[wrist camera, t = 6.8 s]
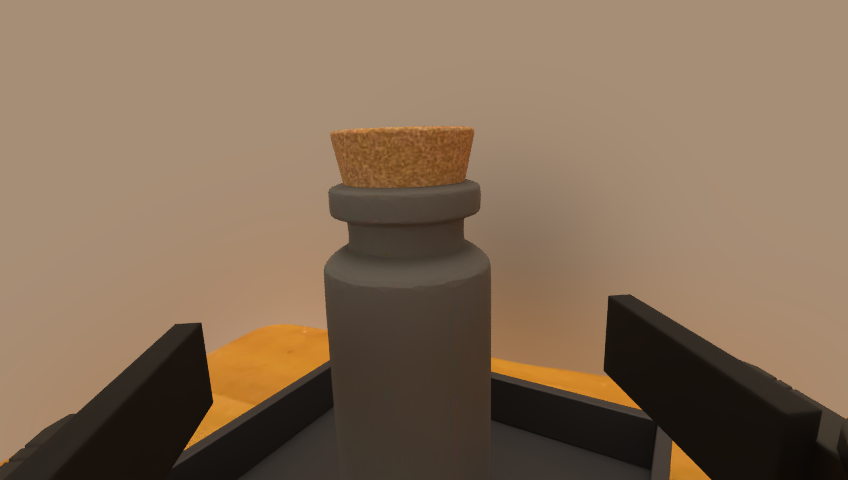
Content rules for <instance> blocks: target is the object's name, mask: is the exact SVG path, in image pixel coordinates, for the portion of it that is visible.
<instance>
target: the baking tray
mask: <svg viewBox="0 0 848 480" xmlns="http://www.w3.org/2000/svg"><path fill="white" fill-rule="evenodd" d="M671 451H672V439H671V438H670V437H669V436H668V435H667V434H666V433H665V432H664V431H663V430H662V429H661V428H660V427H659V426H658V425H657V424H656V423H655V422H654V421H653V420H652V419H651V418H650V417H649V416H648V415H647V414H646V413H645V412H644V411H643V410H639V409H636V408H632V407H628V406H624V405H620V404H616V403H612V402H608V401H604V400H600V399H596V398H592V397H588V396H585V395H581V394H577V393H573V392H569V391H565V390H561V389H557V388H553V387H549V386H545V385H541V384H537V383H534V382H530V381H526V380H522V379H518V378H514V377H510V376H506V375H502V374H498V373H494V372H491V443H490V480H669V477H670V464H671ZM165 480H340V474H339V461H338V449H337V437H336V425H335V413H334V400H333V388H332V376H331V364H330V360H329V361H328V362H326V363H324V364H323V365H321V366H319V367H318V368H316V369H315V370H313V371H311V372H310V373H308V374H307V375H305V376H303V377H302V378H300V379H299V380H297V381H295V382H294V383H292V384H291V385H289V386H287V387H286V388H284V389H282V390H281V391H279V392H278V393H276V394H274V395H273V396H271V397H270V398H268V399H266V400H265V401H263V402H262V403H260V404H258V405H257V406H255V407H254V408H252V409H250V410H249V411H247V412H245V413H244V414H242V415H241V416H239V417H237V418H236V419H234V420H233V421H231V422H229V423H228V424H226V425H225V426H223V427H221V428H220V429H218V430H217V431H215V432H213V433H212V434H210V435H208V436H207V437H205V438H204V439H202V440H200V441H199V442H197V443H196V444H194V445H192V446H191V447H189V448H188V449H186V450H184V451H183V452H182V453H181V455H180V456H179V458H178V460H177V461H176V463H175V464H174V466H173V468H172V469H171V471H170V472H169V474H168V476H167V477H166V479H165Z"/></svg>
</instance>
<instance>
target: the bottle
mask: <svg viewBox="0 0 848 480" xmlns="http://www.w3.org/2000/svg"><path fill="white" fill-rule="evenodd" d="M330 136H331V141H332V144H333V148H334V151H335V155H336V158H337V162H338V166H339V169H340V173H341V177H342V180H343V183H341V184H339V185H336V186H334V187H332V188H331V189H329V192H328V193H329V208H330V214H331V216H332V217H334V218H335V219H338V220H341V221H345V222H347V223H348V231H349V243H348V244H347V245H345V246H343V247H342V248H341V249H339V250H338V251H337V252H335V253H334V254H333V255H332V256H331V257H330V258H329V260H328V261H327V263H326V265H325V268H324V280H325V281H324V282H325V298H326V315H327V327H328V339H329V352H330V364H331V376H332V388H333V400H334V413H335V425H336V437H337V449H338V461H339V474H340V480H490V443H491V267H490V261H489V258H488V257H487V255H486V254H485V253H484V252H483V251H482V250H481V249H480V248H478V247H477V246H476V245H474V244H473V243H471V242H469V241H467V240H465V239H464V231H463V229H464V218H466V217H469V216H471V215H474V214H475V213H477V212H478V211H479V209H480V197H481V194H480V186H479V184H478V183H476V182H474V181H471V180H467V179H465V177H466V172H467V167H468V162H469V156H470V152H471V146H472V141H473V136H474V129H473V128H471V127H464V126H459V127H458V126H421V127H385V128H363V129H347V130H338V131H333V132H331V133H330Z"/></svg>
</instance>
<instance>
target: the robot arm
mask: <svg viewBox="0 0 848 480" xmlns="http://www.w3.org/2000/svg"><path fill="white" fill-rule="evenodd" d="M604 371H605V372H606V373H607V375H608V376H609V377H610V378H611V379H612V380H613V381H614V382H615V383H616V384H617V385H618V386H619V387H620V388H621V389H622V390H623V391H624V392H625V393H626V394H627V395H628V396H629V397H630V398H631V399H632V400H633V401H634V402H635V403H636V404H637V405H638V406H639V407H640V408H641V409H642V410H643V411H644V412H645V413H646V414H647V415H648V416H649V417H650V418H651V419H652V420H653V421H654V422H655V423H656V424H657V425H658V426H659V427H660V428H661V429H662V430H663V431H664V432H665V433H666V434H667V435H668V436H669V437H670V438H671V439H672V440H673V441H674V442H675V443H676V444H677V445H678V446H679V447H680V448H681V449H682V450H683V451H684V452H685V453H686V454H687V455H688V456H689V457H690V458H691V459H692V460H693V461H694V462H695V463H696V464H697V465H698V466H699V467H700V469H701V470H702V471H703V472H704V473H705V474H706V475H707V476H708V477H709V478H710V479H711V480H848V418H847V419H845V418H843V417H842V416H840V415H838V414H836V413H835V412H833V411H831V410H830V409H828V408H826V407H825V406H823V405H821V404H820V403H818V402H816V401H814V400H812V399H811V398H809V397H808V396H806V395H804V394H803V393H801V392H799V391H798V390H793V389H792V387H791V386H789V385H787V384H786V383H784V382H782V381H781V380H777V378H775V377H774V376H772V375H770V374H769V373H767V372H765V371H764V370H762V369H760V368H759V367H756V366H754V365H751V364H748V363H746V362H743V361H741V360H738V359H736V358H735V357H733V356H731V355H730V354H728V353H727V352H725V351H723V350H722V349H720V348H718V347H716V346H715V345H713V344H712V343H710V342H708V341H706V340H705V339H703V338H702V337H700V336H698V335H697V334H695V333H693V332H692V331H690V330H688V329H687V328H685V327H683V326H682V325H680V324H678V323H677V322H675V321H673V320H672V319H670V318H668V317H667V316H665V315H663V314H662V313H660V312H658V311H657V310H655V309H654V308H652V307H650V306H649V305H647V304H645V303H644V302H642V301H640V300H639V299H637V298H635V297H634V296H632V295H615V296H608V311H607V327H606V342H605V357H604ZM212 404H213V398H212V391H211V384H210V377H209V371H208V364H207V357H206V351H205V344H204V337H203V331H202V324H201V323H187V324H175V325H174V326H173V327H172V328H171V329H169V330H168V331H167V332H166V333H165V334H164V335H163V336H162V337H161V338H160V339H159V340H157V341H156V342H155V343H154V344H153V345H152V346H151V347H150V348H148V349H147V350H146V351H145V352H144V353H143V354H142V355H141V356H140V357H139V358H137V359H136V360H135V361H134V362H133V363H132V364H131V365H130V366H129V367H127V368H126V369H125V370H124V371H123V372H122V373H121V374H120V375H119V376H118V377H116V378H115V379H114V380H113V381H112V382H111V383H110V384H109V385H108V386H106V387H105V388H104V389H103V390H102V391H101V392H100V393H99V394H98V395H97V396H95V397H94V398H93V399H92V400H91V401H90V402H89V403H88V404H87V405H85V406H84V407H83V408H82V409H81V410H80V411H79V412H78V413H77V414H69V415H68V416H66V417H64V418H62V419H61V420H59V421H57V422H55V423H54V424H52V425H50V426H49V427H47V428H45V429H44V430H42V431H41V432H40V433H39V434H38V435H37V436H35V437H34V438H33V439H32V440H31V441H30V442H29V443H27V444H26V445H25V448H23V449H21V450H19V451H18V452H17V453H16V454H15V455H13V456H12V457H11V458H10V459H9V462H8V463H4V464H3V465H2V466H1V467H0V480H165V479H166V477H167V476H168V474H169V472H170V471H171V469H172V468H173V466H174V464H175V463H176V461H177V460H178V458H179V456H180V455H181V453H182V452H183V450H184V449H185V447H186V445H187V444H188V442H189V441H190V439H191V437H192V436H193V434H194V433H195V431H196V429H197V428H198V426H199V425H200V423H201V421H202V420H203V418H204V417H205V415H206V413H207V412H208V410H209V409H210V407H211V406H212Z"/></svg>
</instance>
